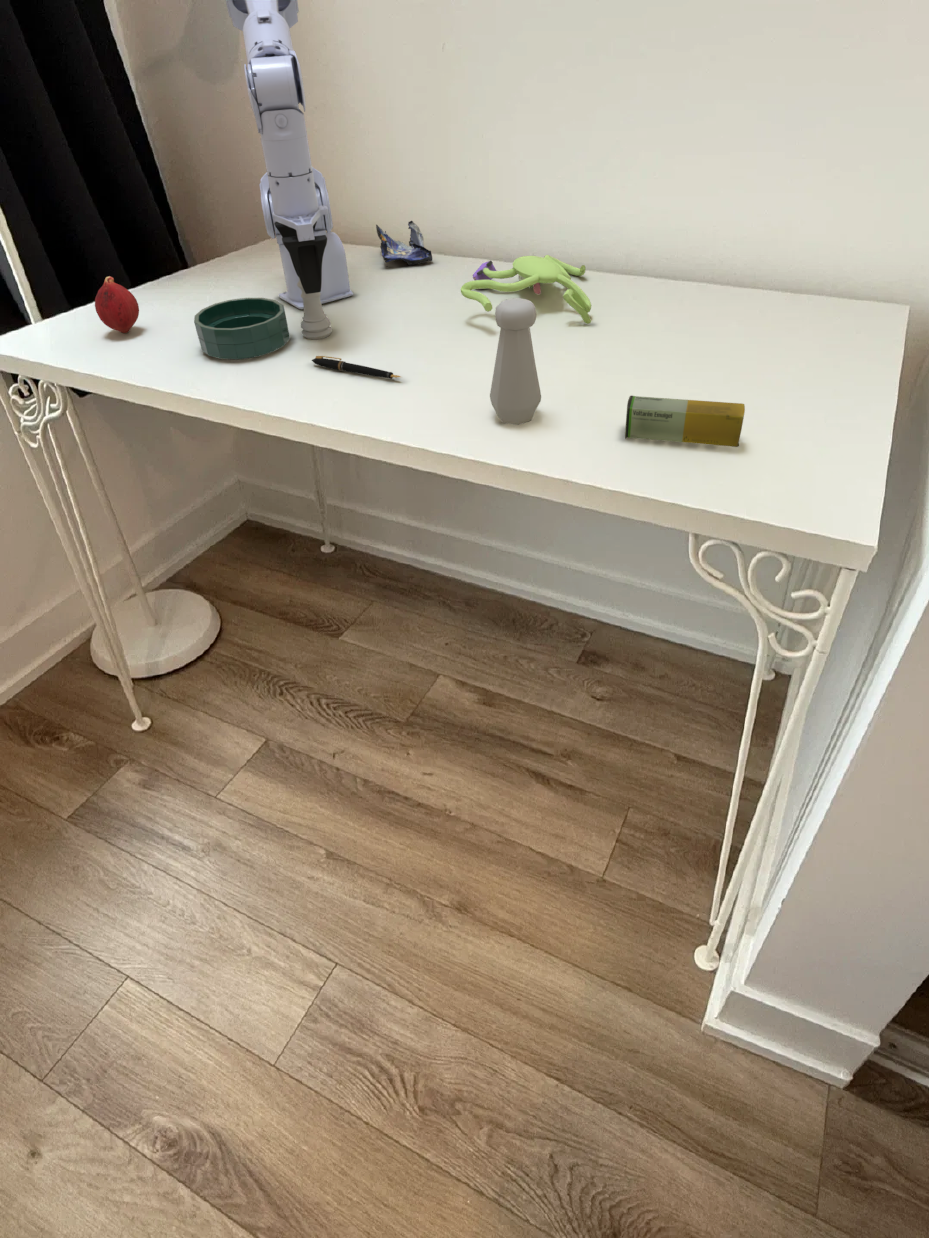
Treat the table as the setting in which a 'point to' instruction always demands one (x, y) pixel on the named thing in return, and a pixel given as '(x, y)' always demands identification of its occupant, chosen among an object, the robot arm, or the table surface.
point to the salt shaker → (515, 363)
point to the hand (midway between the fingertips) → (308, 284)
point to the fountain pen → (351, 367)
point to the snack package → (404, 247)
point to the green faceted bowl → (242, 328)
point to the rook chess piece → (314, 316)
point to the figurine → (530, 281)
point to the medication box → (684, 420)
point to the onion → (116, 306)
